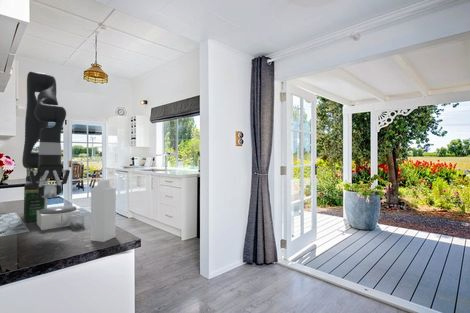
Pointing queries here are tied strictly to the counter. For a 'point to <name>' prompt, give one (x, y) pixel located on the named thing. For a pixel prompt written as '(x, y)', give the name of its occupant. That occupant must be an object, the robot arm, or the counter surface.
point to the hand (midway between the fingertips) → (49, 195)
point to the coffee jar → (32, 202)
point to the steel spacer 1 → (49, 190)
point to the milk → (103, 211)
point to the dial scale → (55, 216)
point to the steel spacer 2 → (77, 221)
